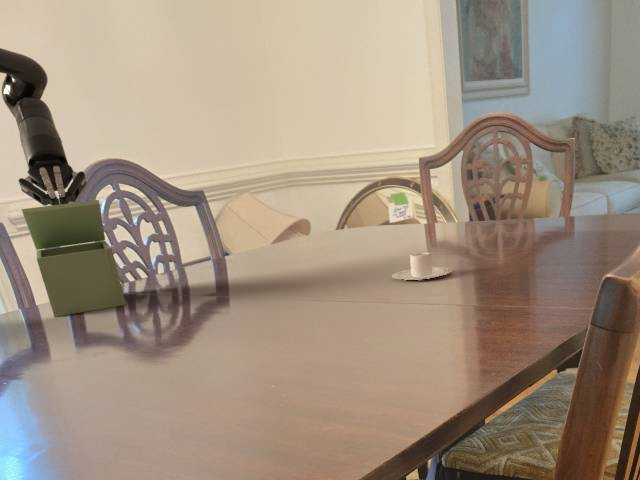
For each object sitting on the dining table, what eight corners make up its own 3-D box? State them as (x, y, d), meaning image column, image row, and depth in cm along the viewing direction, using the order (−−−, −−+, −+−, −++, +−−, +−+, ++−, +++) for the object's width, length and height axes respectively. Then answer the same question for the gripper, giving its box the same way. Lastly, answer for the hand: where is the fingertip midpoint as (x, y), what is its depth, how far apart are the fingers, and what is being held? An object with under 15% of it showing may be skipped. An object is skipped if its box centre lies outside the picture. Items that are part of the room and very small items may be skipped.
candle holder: (412, 270, 159) (410, 248, 157) (463, 270, 154) (462, 248, 151) (380, 282, 151) (378, 259, 149) (433, 283, 145) (432, 259, 143)
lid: (99, 203, 147) (98, 199, 147) (22, 213, 142) (21, 209, 142) (105, 240, 163) (104, 236, 163) (36, 250, 158) (34, 246, 158)
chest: (126, 305, 155) (111, 248, 150) (54, 316, 151) (36, 258, 146) (119, 293, 168) (105, 240, 163) (52, 304, 164) (36, 250, 159)
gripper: (80, 158, 160) (101, 226, 156) (12, 166, 156) (32, 235, 152) (74, 129, 153) (96, 199, 149) (2, 136, 149) (23, 208, 145)
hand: (63, 217), depth 150 cm, fingers closed
